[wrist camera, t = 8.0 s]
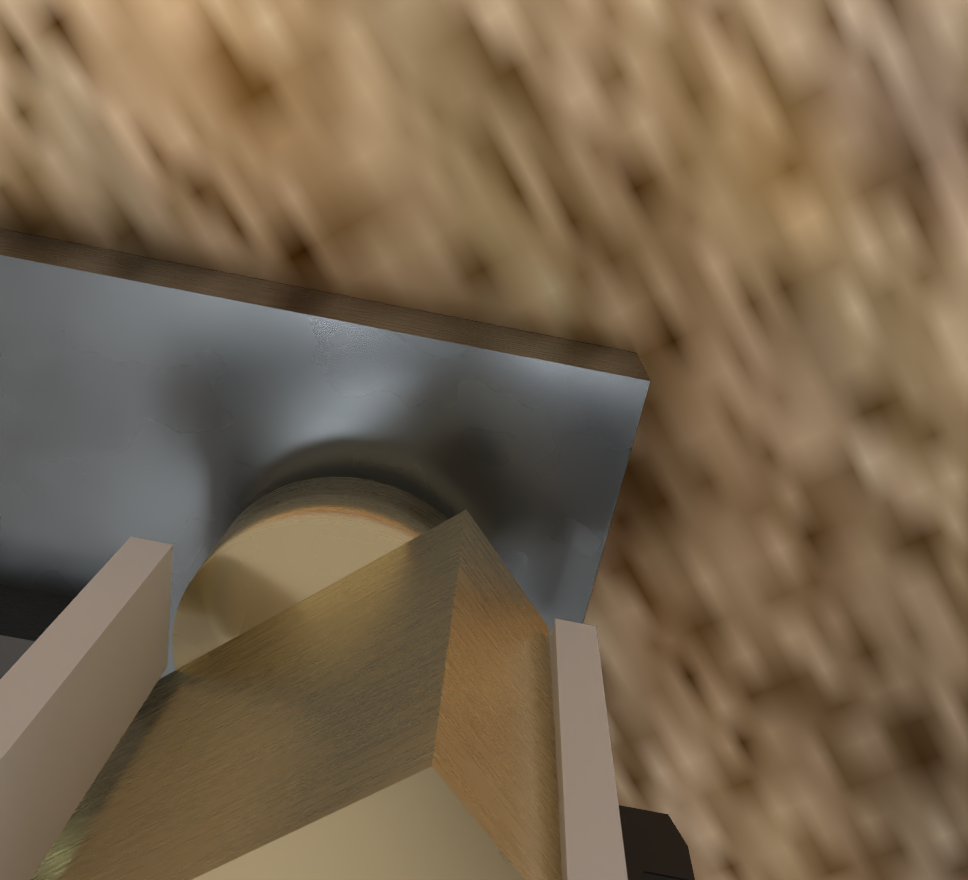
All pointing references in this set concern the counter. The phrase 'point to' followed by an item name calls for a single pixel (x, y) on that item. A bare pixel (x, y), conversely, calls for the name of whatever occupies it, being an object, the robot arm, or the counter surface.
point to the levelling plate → (280, 422)
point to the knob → (336, 710)
